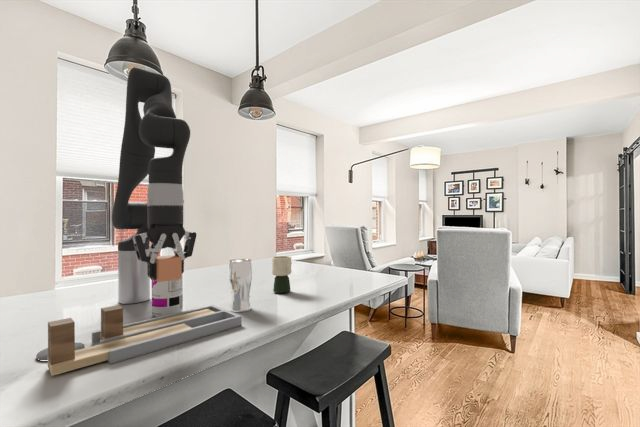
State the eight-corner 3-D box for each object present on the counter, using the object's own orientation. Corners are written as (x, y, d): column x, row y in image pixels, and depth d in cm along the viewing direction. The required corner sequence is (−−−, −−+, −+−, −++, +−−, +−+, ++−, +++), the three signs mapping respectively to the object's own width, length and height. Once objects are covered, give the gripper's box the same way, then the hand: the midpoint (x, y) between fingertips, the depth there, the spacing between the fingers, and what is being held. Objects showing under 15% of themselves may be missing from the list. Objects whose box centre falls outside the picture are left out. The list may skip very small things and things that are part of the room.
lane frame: (91, 342, 74) (91, 332, 74) (212, 313, 95) (212, 304, 95) (110, 364, 63) (109, 351, 63) (241, 325, 85) (241, 316, 85)
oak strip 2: (100, 340, 74) (99, 307, 74) (207, 314, 93) (207, 287, 93) (106, 347, 70) (106, 312, 70) (217, 318, 89) (217, 290, 89)
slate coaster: (34, 353, 69) (34, 350, 69) (80, 342, 74) (80, 339, 74) (38, 365, 63) (38, 362, 63) (88, 352, 69) (88, 349, 69)
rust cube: (150, 278, 75) (150, 257, 75) (172, 275, 79) (172, 255, 79) (158, 282, 72) (158, 259, 71) (181, 278, 75) (181, 257, 75)
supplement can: (151, 320, 90) (151, 265, 89) (151, 312, 97) (151, 261, 97) (183, 315, 93) (183, 263, 93) (181, 308, 101) (181, 259, 101)
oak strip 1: (47, 365, 62) (47, 320, 62) (183, 329, 81) (183, 295, 81) (51, 375, 58) (51, 327, 58) (193, 335, 77) (193, 299, 77)
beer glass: (246, 313, 95) (246, 262, 95) (224, 312, 96) (224, 261, 96) (255, 306, 102) (255, 258, 102) (235, 305, 103) (234, 258, 103)
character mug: (298, 293, 118) (298, 257, 118) (281, 297, 113) (281, 259, 113) (282, 288, 126) (282, 254, 126) (266, 291, 122) (265, 256, 122)
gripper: (189, 204, 83) (189, 271, 83) (125, 203, 72) (126, 280, 73) (203, 204, 77) (203, 275, 78) (136, 203, 67) (137, 285, 67)
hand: (166, 277), depth 75 cm, fingers closed on rust cube, 5 cm apart
